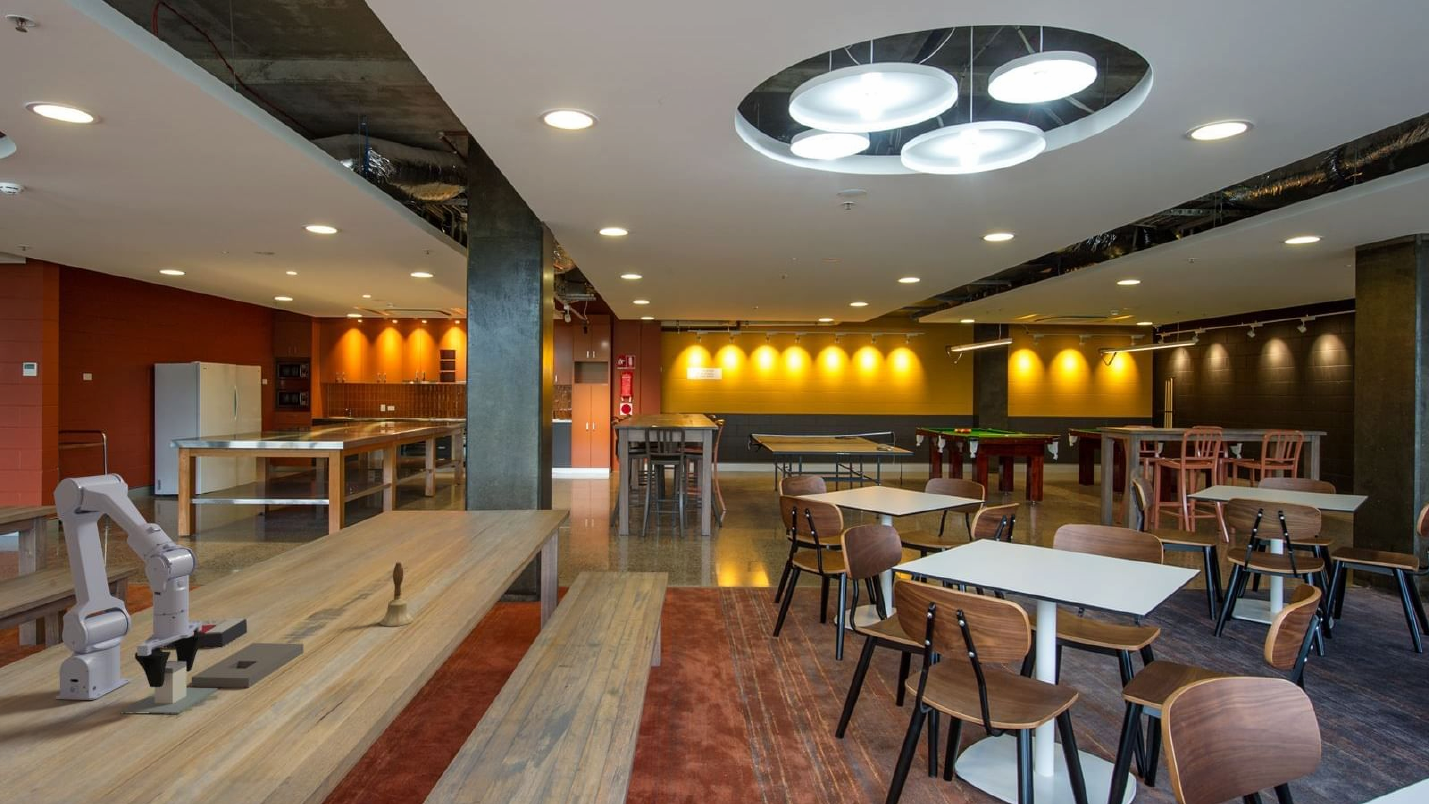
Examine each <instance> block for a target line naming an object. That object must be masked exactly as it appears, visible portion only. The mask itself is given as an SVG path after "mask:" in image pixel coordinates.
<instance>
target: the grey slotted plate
mask: <svg viewBox="0 0 1429 804" xmlns="http://www.w3.org/2000/svg"><path fill="white" fill-rule="evenodd" d="M303 653H304V643H267V642H266V643H264V642H263V643H261V642H260V643H259V642H258V643H257V642H252V643H251V644H249V645H247V646H245V647H243V648H242V649H239V650H238V651H237V652H234V653H233V654H230V655H229V656H227V657H225V658H222V660H220V661H218V662H217V663H214V664H212V665H211V666H209V667H207V668H206V669H204V670H202V671H200V672H198V673H196V674H195V675H192V676H191V687H192V686H197V687H196V688H236V687H246V688H247V689H248V688H250V686H251V687H253V686H254V685H256V684H257V683H258V682H259V680H260V681H261V679H262V678H263V679H264V677H265V678H266V677H268V676H269V675H271V674H272V673H274V672H276V671H277V670H279V669H280V668H282V667H283V666H285V665H286V664H288V663H289V662H290V661H292V660H294V659H296V658H298V657H299V656H300V655H301V654H303ZM276 669H277V670H276ZM263 679H262V680H263ZM246 688H245V689H246Z"/></svg>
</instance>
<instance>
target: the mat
mask: <svg viewBox="0 0 1429 804" xmlns="http://www.w3.org/2000/svg"><path fill="white" fill-rule="evenodd" d="M218 688H219V687H186V696H185V697H183V698H182V699H180V700H178V701H176V702H175V703H173V704H171V703H155V692H153V693H151V694H150V695H148V696H146V697H144V698H143V699H141V700H139V701H137V702H136V703H133V704H132V705H129V706H128V707H127V708H124V709H123V710H121V711H120V713H121V712H149V713H164V714H163V715H179V714H178V713H179V712H181V711H183V712H184V711H186V710H188V709H190V708H191V707H193V706H194V705H196V704H198V703H199V702H201V701H202V700H204V699H206V698H207V697H209V696H211V695H212V694H214V693H216V692H217V691H218ZM197 702H198V703H197ZM195 703H196V704H195ZM192 705H193V706H192ZM190 706H191V707H190ZM187 708H188V709H187ZM169 713H171V714H169ZM181 713H182V712H181Z"/></svg>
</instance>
